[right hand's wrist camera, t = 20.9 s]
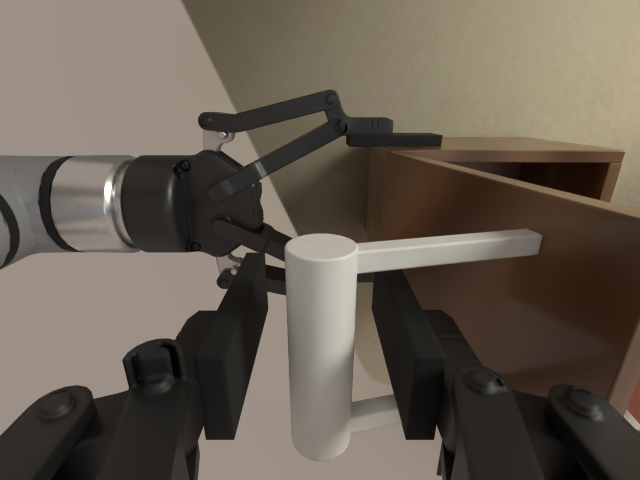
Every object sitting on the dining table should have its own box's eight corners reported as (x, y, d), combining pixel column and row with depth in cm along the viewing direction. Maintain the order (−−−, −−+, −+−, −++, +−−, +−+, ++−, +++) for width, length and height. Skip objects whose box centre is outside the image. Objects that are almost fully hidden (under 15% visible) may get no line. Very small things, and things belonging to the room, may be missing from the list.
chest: (530, 137, 32) (626, 150, 22) (511, 231, 35) (586, 280, 25) (370, 137, 32) (390, 150, 22) (365, 230, 35) (381, 278, 25)
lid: (703, 225, 8) (310, 262, 6) (589, 501, 11) (314, 585, 9) (398, 150, 22) (255, 154, 20) (388, 280, 25) (264, 295, 23)
